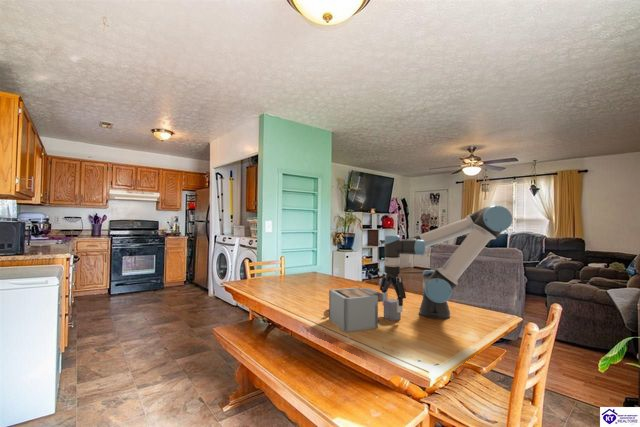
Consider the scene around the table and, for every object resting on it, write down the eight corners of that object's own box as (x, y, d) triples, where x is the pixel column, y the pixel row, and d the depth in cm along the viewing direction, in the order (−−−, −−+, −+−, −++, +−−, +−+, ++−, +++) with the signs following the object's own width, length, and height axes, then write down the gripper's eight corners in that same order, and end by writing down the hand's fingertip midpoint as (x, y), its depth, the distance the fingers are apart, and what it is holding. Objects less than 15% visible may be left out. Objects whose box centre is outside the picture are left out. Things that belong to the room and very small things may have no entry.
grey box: (358, 315, 154) (358, 287, 155) (377, 327, 137) (377, 295, 137) (329, 319, 148) (329, 289, 149) (345, 332, 131) (345, 298, 132)
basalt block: (393, 315, 154) (393, 298, 155) (400, 319, 149) (400, 301, 149) (383, 317, 152) (383, 299, 153) (390, 320, 147) (390, 302, 147)
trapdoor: (368, 294, 154) (368, 287, 154) (383, 301, 141) (383, 294, 141) (337, 297, 148) (337, 290, 148) (350, 305, 135) (350, 297, 135)
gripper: (373, 262, 161) (373, 302, 161) (400, 269, 139) (400, 316, 138) (385, 262, 164) (385, 301, 163) (413, 268, 141) (413, 314, 141)
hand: (392, 308), depth 151 cm, fingers open, 12 cm apart
